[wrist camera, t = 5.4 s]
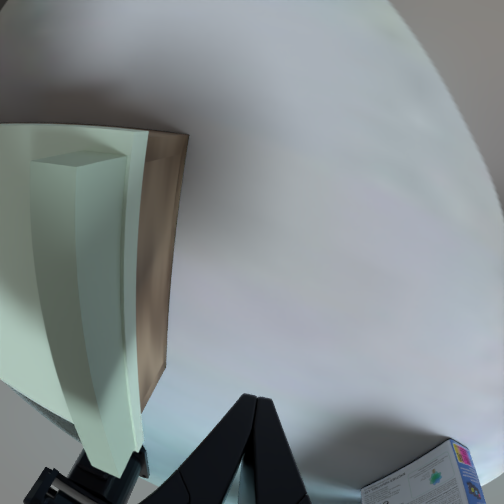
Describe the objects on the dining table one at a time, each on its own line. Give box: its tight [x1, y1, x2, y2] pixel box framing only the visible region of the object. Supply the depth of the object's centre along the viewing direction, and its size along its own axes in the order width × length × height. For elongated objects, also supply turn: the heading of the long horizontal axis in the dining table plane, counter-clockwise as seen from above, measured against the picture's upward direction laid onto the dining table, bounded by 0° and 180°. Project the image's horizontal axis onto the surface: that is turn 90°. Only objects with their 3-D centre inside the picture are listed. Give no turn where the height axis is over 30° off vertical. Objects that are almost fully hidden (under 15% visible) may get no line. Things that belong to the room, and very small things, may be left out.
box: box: [0, 122, 189, 414], centre depth 13 cm, size 13×16×5 cm
